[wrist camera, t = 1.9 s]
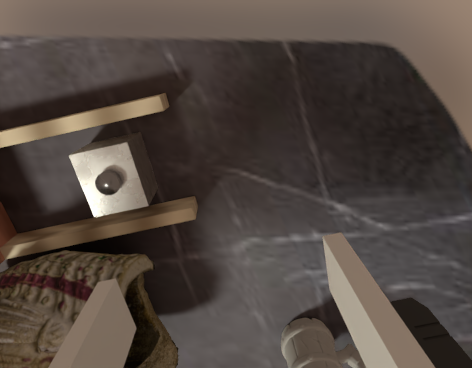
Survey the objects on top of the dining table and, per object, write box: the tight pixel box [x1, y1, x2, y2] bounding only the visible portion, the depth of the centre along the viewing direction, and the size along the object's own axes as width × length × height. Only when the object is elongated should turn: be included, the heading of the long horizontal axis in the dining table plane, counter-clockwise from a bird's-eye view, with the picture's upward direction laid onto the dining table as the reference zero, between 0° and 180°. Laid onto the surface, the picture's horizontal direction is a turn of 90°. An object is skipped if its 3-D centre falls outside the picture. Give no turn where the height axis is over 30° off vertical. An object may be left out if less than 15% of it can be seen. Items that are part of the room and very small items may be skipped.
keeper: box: [69, 132, 159, 217], centre depth 35 cm, size 6×7×6 cm
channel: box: [0, 93, 198, 264], centre depth 35 cm, size 25×14×6 cm, turn 102°
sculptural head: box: [0, 250, 178, 368], centre depth 37 cm, size 17×21×25 cm
